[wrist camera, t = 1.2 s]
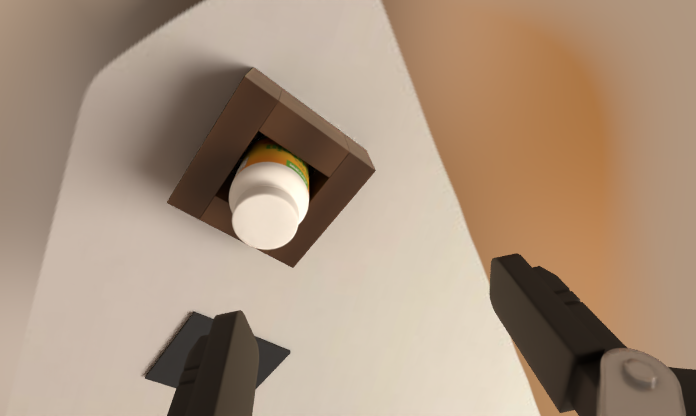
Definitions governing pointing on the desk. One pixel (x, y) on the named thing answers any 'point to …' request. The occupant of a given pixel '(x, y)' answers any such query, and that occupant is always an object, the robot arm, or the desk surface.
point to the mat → (196, 326)
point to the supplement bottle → (269, 195)
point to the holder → (291, 133)
